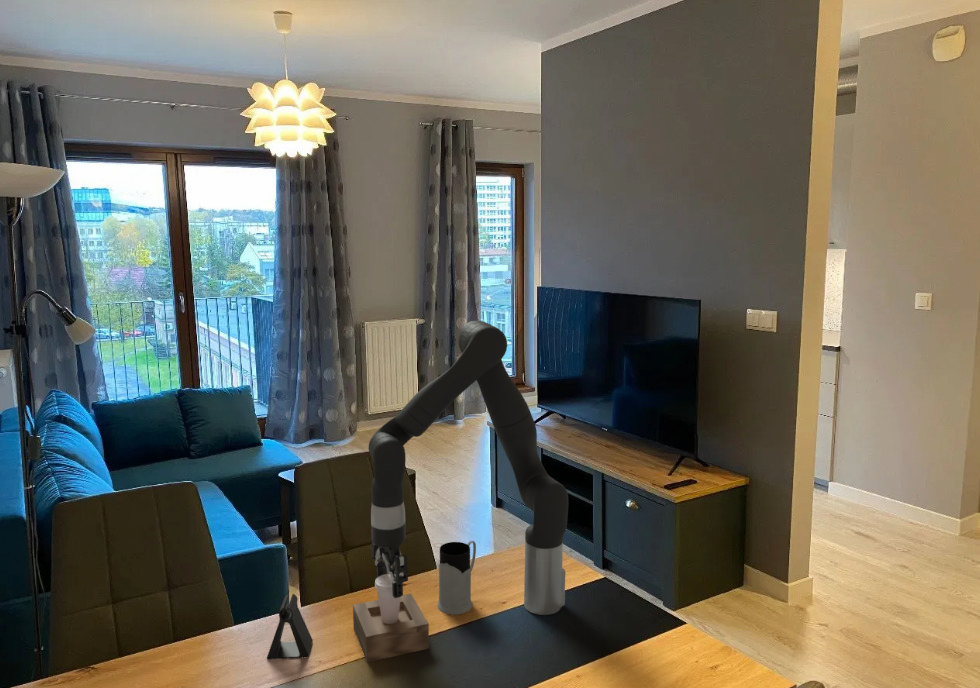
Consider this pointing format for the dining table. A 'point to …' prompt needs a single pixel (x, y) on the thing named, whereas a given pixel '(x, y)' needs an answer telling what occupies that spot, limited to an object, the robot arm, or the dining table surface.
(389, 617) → the smoothie
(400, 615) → the walnut tray
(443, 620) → the dining table surface
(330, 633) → the dining table surface
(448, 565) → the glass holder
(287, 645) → the phone stand
